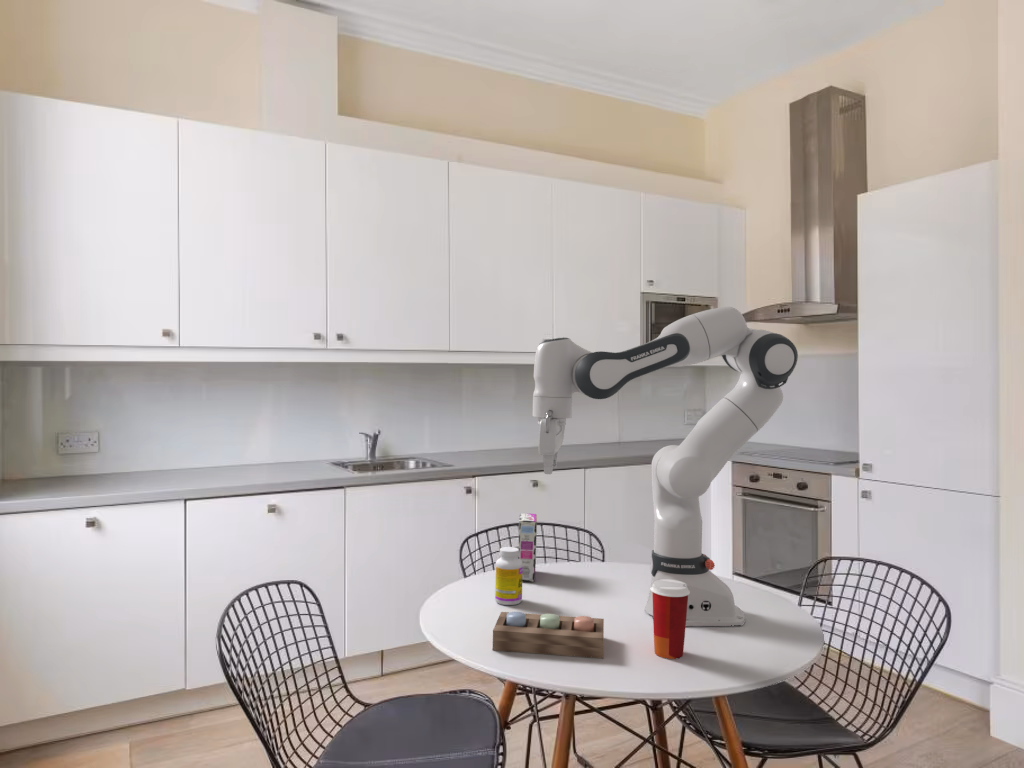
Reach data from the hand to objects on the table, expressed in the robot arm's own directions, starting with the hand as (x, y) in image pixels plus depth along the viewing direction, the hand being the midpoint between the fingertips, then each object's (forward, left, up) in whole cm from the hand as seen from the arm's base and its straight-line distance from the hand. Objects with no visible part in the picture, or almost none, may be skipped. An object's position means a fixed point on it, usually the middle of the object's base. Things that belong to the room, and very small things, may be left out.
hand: (550, 471), depth 155 cm
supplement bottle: (+10, -11, -34) cm, 37 cm away
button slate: (+5, +13, -31) cm, 34 cm away
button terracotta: (-9, +13, -31) cm, 35 cm away
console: (-2, +13, -34) cm, 36 cm away
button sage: (-2, +13, -31) cm, 34 cm away
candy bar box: (+8, -33, -34) cm, 48 cm away
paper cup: (-26, +14, -34) cm, 45 cm away
